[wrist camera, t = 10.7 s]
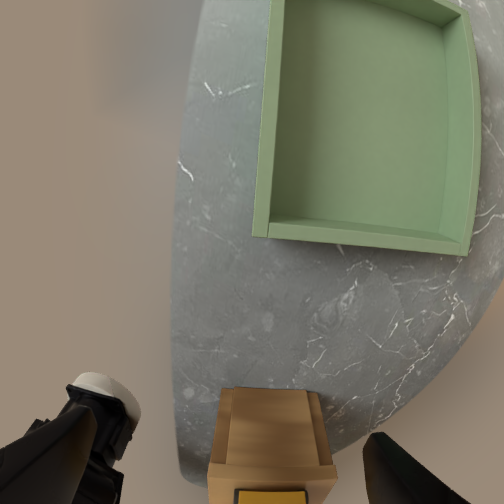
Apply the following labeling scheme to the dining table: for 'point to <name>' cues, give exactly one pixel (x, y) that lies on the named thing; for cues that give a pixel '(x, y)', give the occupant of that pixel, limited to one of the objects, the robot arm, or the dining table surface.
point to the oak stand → (269, 445)
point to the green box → (369, 125)
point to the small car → (270, 497)
